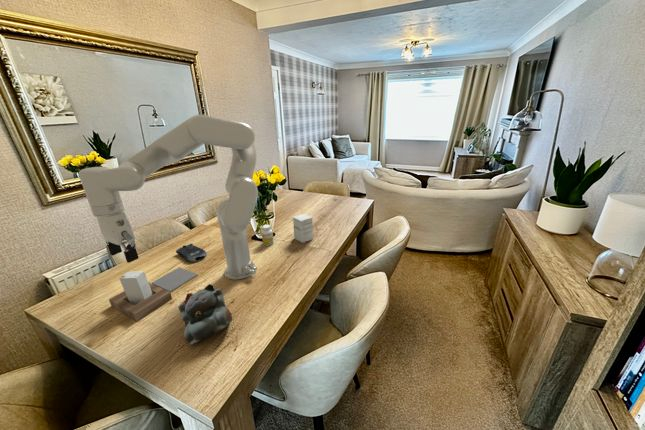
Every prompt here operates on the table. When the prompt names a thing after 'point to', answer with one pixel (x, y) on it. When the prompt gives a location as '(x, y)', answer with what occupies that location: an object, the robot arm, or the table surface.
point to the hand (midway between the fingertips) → (124, 256)
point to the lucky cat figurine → (204, 314)
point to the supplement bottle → (267, 235)
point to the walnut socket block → (141, 303)
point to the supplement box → (303, 228)
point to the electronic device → (191, 252)
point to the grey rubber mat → (174, 279)
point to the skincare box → (136, 286)
